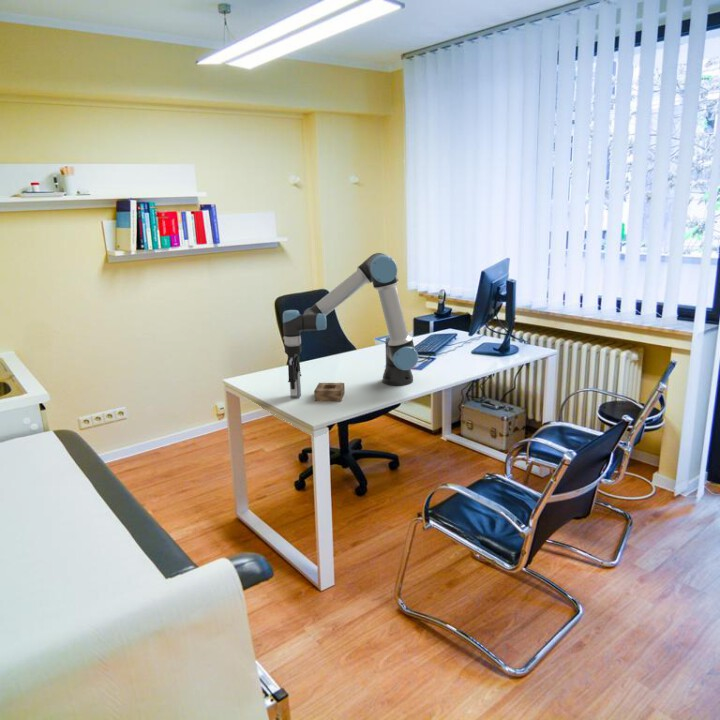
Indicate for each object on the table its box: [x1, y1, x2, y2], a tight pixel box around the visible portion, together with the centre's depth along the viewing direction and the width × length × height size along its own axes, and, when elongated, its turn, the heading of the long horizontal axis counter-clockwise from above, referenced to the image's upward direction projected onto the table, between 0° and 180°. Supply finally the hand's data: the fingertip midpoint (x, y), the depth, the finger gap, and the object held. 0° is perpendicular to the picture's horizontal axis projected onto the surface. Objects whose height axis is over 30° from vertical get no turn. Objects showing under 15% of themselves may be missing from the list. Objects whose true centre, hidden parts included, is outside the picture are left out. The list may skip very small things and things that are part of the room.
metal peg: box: [289, 370, 302, 399], centre depth 270 cm, size 4×4×12 cm
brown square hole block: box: [313, 382, 345, 402], centre depth 269 cm, size 12×12×5 cm
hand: (295, 392), depth 271 cm, fingers open, 7 cm apart
